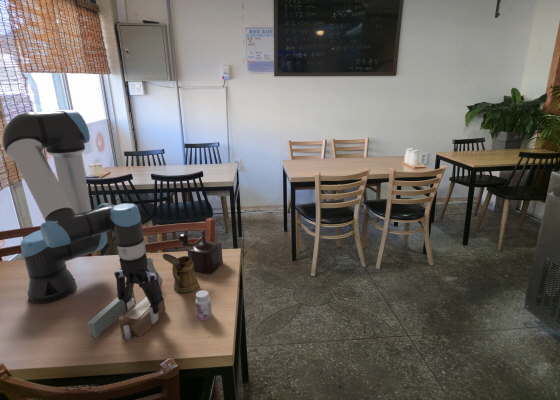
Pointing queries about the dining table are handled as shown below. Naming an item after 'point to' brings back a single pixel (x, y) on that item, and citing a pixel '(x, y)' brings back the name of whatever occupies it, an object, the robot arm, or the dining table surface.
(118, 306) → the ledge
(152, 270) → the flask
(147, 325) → the frame
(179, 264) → the wooden mug
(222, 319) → the dining table surface
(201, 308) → the pill bottle
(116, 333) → the dining table surface
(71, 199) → the robot arm
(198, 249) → the dark brown coffee grinder
